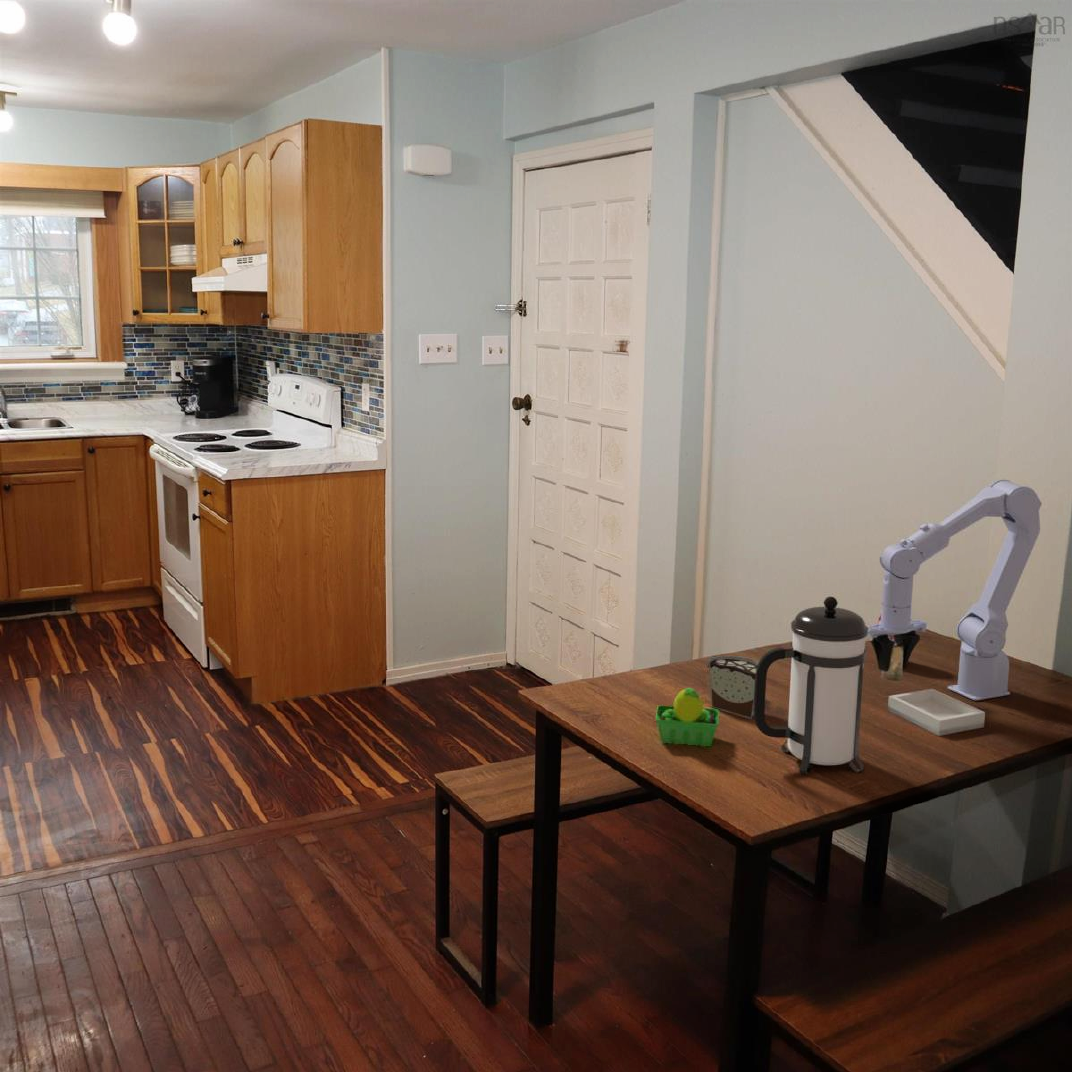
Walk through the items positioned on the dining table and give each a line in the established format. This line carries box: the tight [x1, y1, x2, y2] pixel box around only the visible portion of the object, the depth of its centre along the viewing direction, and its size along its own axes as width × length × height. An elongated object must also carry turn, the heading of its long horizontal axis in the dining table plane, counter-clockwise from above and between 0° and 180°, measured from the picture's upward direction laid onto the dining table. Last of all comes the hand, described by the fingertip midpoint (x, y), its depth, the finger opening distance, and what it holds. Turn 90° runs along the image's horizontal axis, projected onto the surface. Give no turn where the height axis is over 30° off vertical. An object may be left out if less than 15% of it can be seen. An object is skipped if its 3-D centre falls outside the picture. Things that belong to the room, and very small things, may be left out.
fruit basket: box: [654, 687, 720, 747], centre depth 201 cm, size 11×9×11 cm
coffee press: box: [753, 596, 873, 776], centre depth 189 cm, size 17×16×30 cm
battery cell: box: [880, 641, 904, 682], centre depth 224 cm, size 4×4×8 cm
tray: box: [887, 688, 986, 737], centre depth 212 cm, size 11×14×3 cm
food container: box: [706, 655, 759, 720], centre depth 217 cm, size 12×6×10 cm, turn 47°
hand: (892, 668), depth 224 cm, fingers closed on battery cell, 4 cm apart
